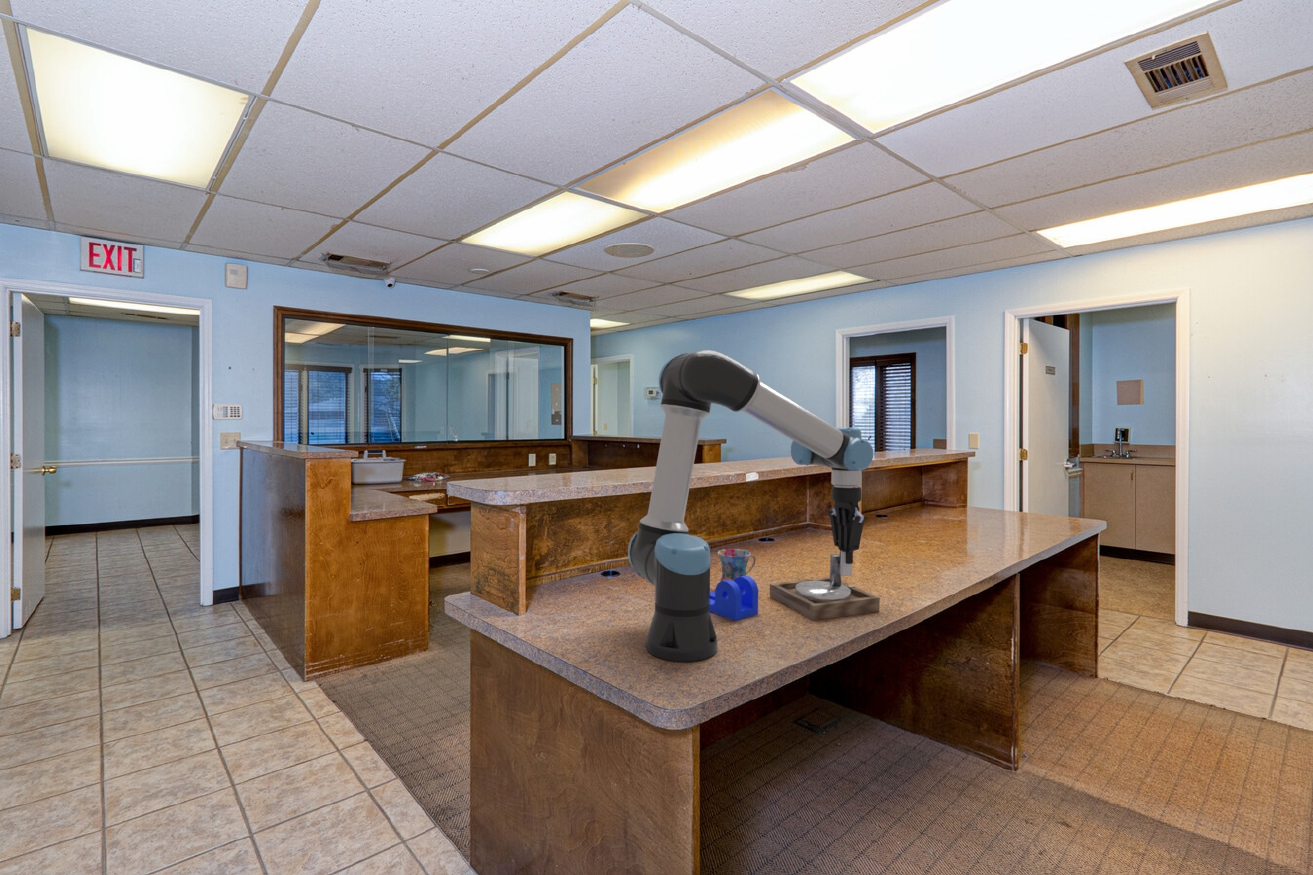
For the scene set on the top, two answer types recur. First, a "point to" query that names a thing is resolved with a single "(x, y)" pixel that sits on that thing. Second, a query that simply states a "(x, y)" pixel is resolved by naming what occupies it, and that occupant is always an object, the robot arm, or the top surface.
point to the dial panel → (815, 611)
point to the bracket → (735, 598)
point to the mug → (734, 563)
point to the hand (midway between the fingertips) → (846, 575)
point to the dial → (825, 586)
